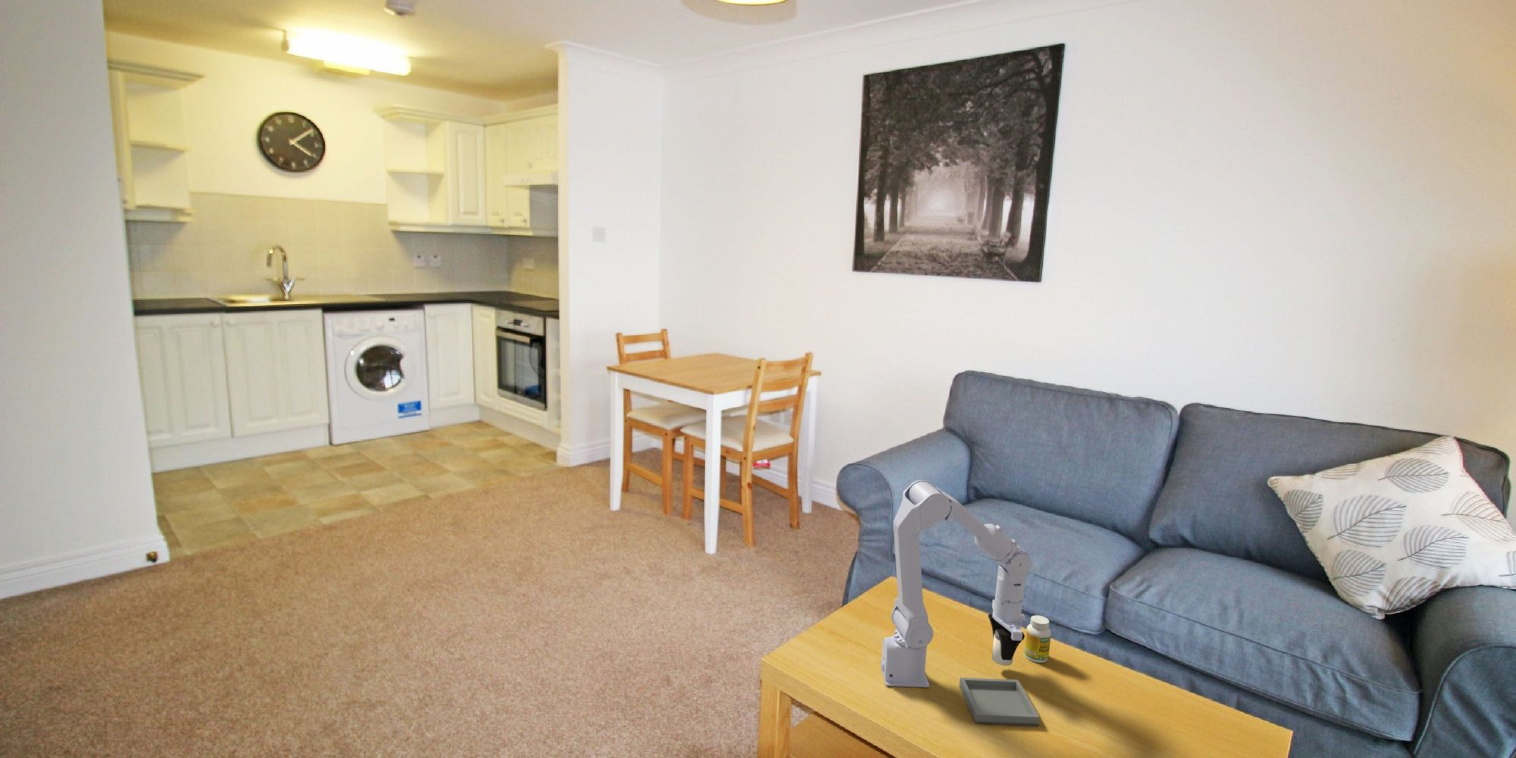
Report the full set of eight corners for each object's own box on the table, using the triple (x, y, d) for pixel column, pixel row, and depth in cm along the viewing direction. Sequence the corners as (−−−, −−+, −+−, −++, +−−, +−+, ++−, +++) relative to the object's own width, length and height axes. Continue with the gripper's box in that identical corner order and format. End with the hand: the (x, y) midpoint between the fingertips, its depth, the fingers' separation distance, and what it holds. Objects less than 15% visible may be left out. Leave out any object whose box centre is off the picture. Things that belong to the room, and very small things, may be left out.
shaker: (995, 665, 161) (998, 638, 160) (989, 654, 166) (991, 627, 165) (1015, 666, 161) (1018, 639, 160) (1008, 654, 166) (1011, 628, 164)
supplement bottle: (1033, 648, 173) (1037, 611, 172) (1053, 659, 169) (1057, 621, 167) (1019, 654, 170) (1023, 617, 169) (1038, 666, 166) (1043, 627, 164)
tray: (975, 723, 145) (976, 714, 145) (959, 685, 157) (959, 677, 157) (1038, 725, 145) (1039, 717, 145) (1017, 688, 157) (1018, 679, 157)
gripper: (1039, 614, 154) (1032, 672, 156) (1016, 582, 168) (1010, 636, 170) (1005, 612, 154) (999, 670, 156) (985, 581, 168) (980, 635, 170)
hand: (1002, 652), depth 163 cm, fingers closed on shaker, 4 cm apart
